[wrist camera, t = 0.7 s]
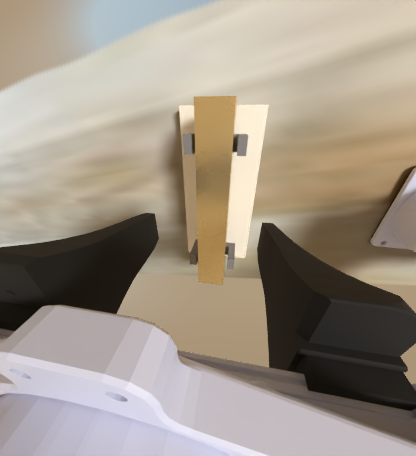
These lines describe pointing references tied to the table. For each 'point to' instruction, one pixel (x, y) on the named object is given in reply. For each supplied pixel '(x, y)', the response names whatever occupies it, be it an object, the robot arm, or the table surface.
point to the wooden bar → (213, 181)
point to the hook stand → (240, 179)
